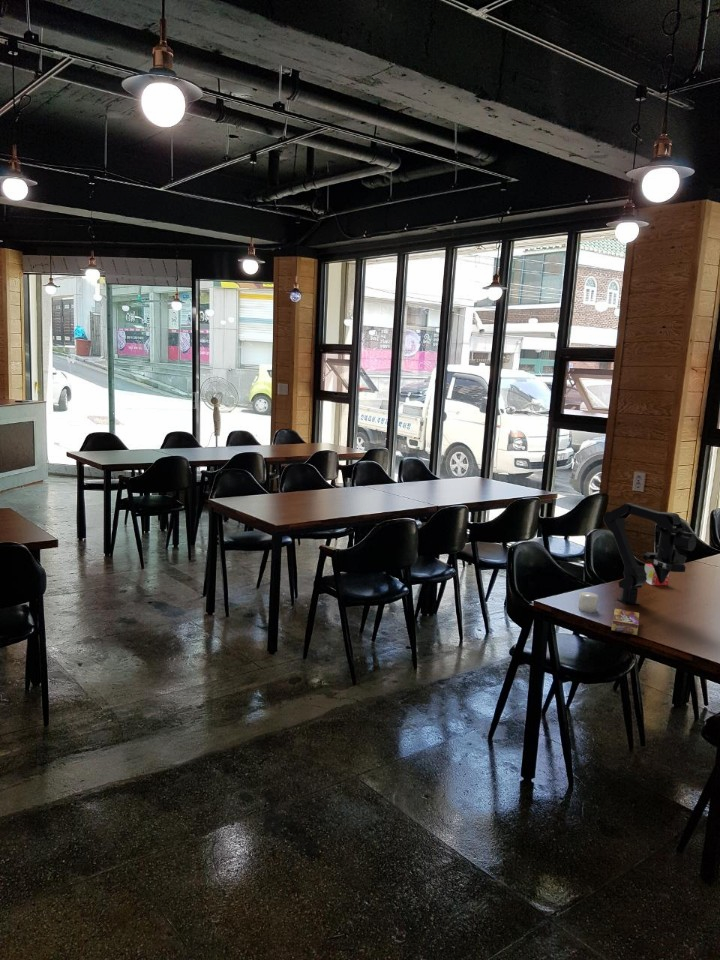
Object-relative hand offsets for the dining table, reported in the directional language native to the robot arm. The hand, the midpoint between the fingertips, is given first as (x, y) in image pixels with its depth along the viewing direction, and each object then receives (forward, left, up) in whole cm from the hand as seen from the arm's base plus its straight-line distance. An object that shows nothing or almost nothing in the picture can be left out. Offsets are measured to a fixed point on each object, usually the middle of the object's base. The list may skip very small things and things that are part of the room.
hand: (661, 583), depth 279 cm
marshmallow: (-3, -29, -12) cm, 32 cm away
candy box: (+9, -20, -10) cm, 24 cm away
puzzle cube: (-39, +27, -12) cm, 49 cm away
